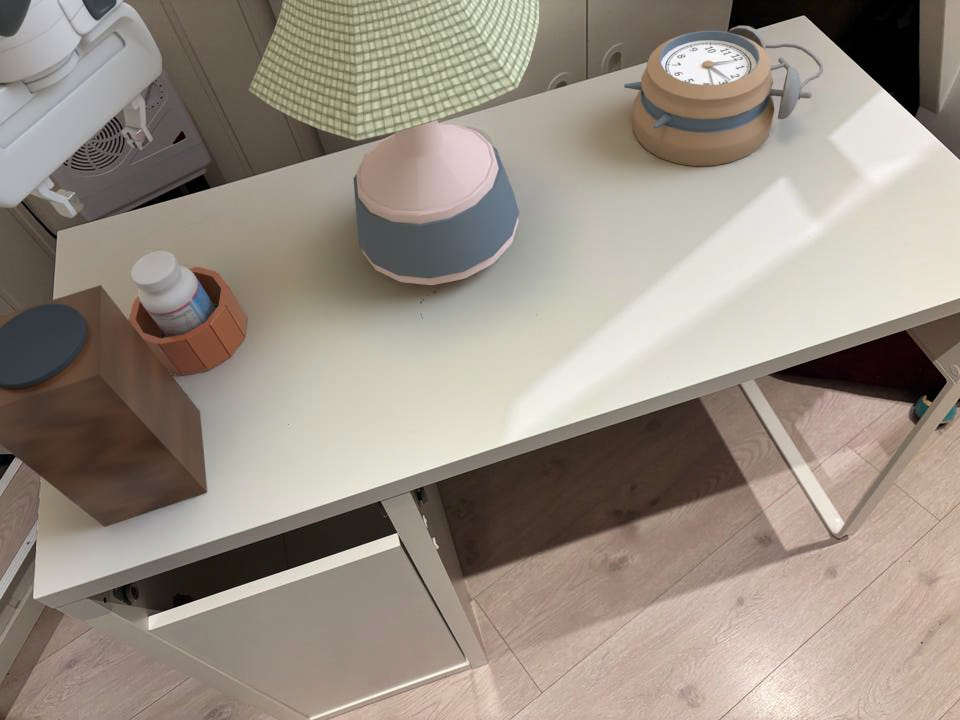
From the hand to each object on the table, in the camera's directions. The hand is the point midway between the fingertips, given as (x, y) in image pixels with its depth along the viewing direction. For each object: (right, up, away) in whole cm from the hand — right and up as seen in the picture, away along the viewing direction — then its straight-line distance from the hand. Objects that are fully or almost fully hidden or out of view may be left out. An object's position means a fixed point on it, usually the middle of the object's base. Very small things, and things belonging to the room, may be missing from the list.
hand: (109, 177), depth 66 cm
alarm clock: (+64, +15, +29) cm, 72 cm away
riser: (+1, -27, +7) cm, 28 cm away
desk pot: (+2, -14, +17) cm, 22 cm away
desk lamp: (+29, -2, +22) cm, 36 cm away
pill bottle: (+2, -14, +17) cm, 22 cm away
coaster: (-2, -15, -8) cm, 17 cm away
